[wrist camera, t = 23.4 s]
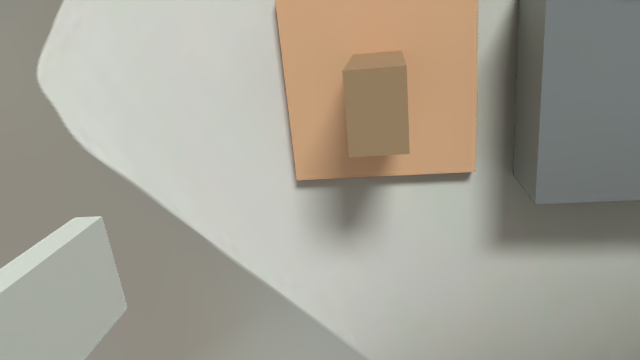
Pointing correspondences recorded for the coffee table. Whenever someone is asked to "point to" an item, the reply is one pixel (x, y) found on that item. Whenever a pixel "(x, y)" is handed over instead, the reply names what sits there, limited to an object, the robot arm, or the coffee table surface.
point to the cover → (380, 86)
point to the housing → (578, 101)
